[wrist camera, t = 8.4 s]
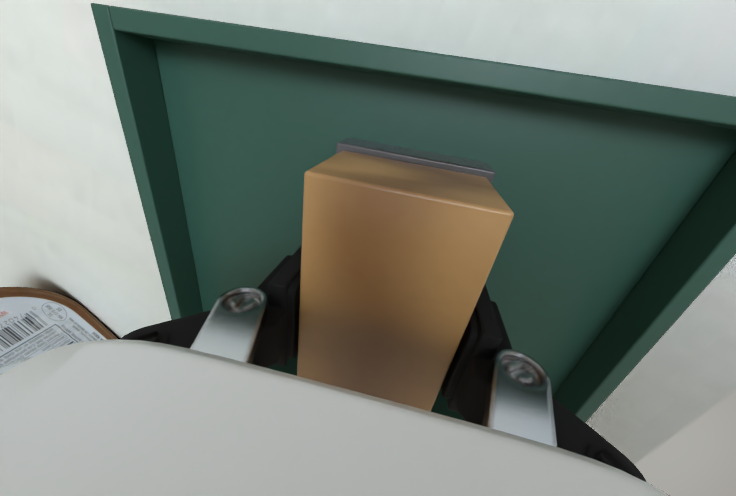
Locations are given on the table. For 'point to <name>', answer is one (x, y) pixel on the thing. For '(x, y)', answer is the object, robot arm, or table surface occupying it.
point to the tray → (443, 136)
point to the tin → (42, 323)
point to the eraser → (393, 266)
